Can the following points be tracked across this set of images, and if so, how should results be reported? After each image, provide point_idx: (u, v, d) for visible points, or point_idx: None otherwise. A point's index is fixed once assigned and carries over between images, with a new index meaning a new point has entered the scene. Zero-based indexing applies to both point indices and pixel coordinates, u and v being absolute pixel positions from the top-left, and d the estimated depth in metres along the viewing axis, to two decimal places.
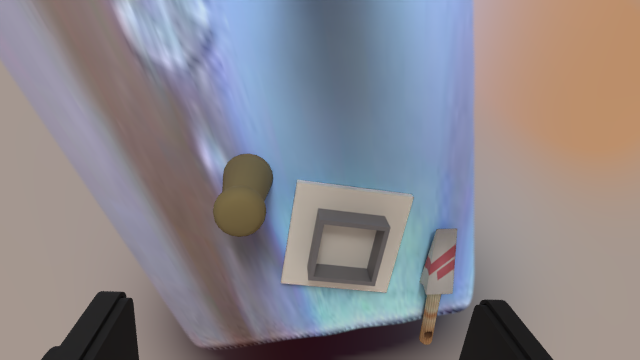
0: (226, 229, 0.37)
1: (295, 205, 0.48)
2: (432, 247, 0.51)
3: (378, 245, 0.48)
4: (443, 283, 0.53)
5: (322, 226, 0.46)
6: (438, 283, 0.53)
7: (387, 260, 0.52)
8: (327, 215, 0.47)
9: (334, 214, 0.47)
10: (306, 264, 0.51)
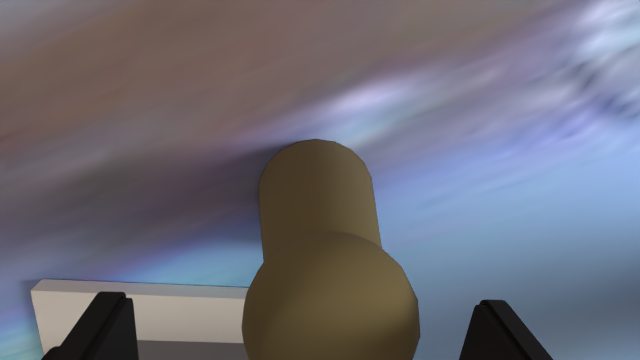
0: (283, 325, 0.09)
1: None
2: None
3: None
4: None
5: None
6: None
7: None
8: None
9: None
10: None
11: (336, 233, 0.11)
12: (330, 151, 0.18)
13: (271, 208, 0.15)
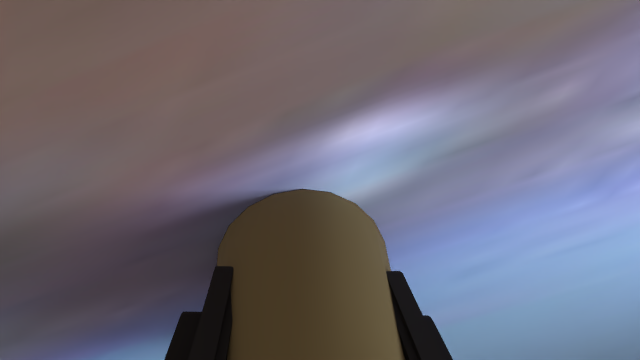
0: None
1: None
2: None
3: None
4: None
5: None
6: None
7: None
8: None
9: None
10: None
11: None
12: (324, 213, 0.11)
13: None
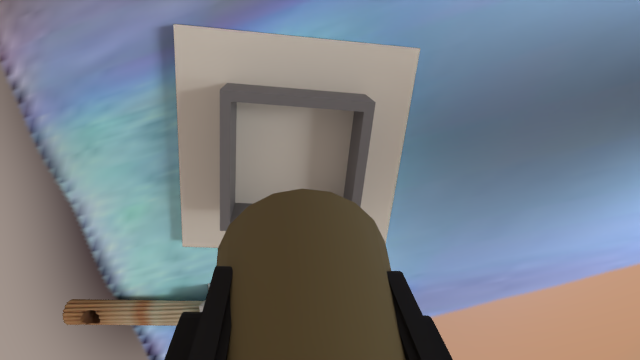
0: None
1: (372, 47, 0.24)
2: None
3: None
4: None
5: (359, 109, 0.22)
6: None
7: None
8: None
9: None
10: (232, 81, 0.24)
11: None
12: (324, 212, 0.11)
13: None
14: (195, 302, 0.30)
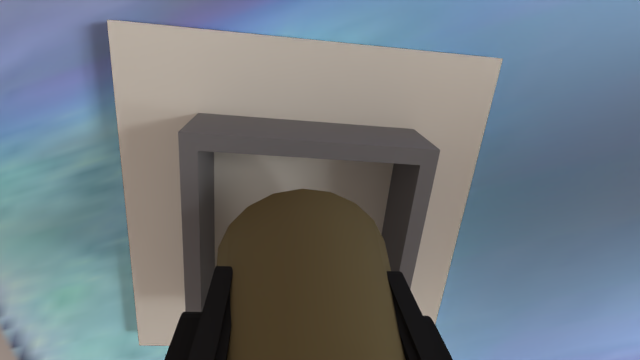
0: None
1: (428, 57, 0.15)
2: None
3: None
4: None
5: (412, 160, 0.13)
6: None
7: None
8: None
9: None
10: (206, 110, 0.15)
11: None
12: (324, 212, 0.11)
13: None
14: None
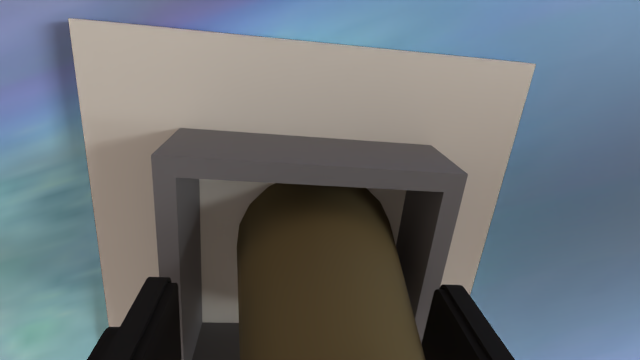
0: None
1: (449, 62, 0.13)
2: None
3: None
4: None
5: (434, 187, 0.11)
6: None
7: None
8: None
9: None
10: (189, 124, 0.13)
11: None
12: (337, 192, 0.13)
13: (253, 288, 0.10)
14: None
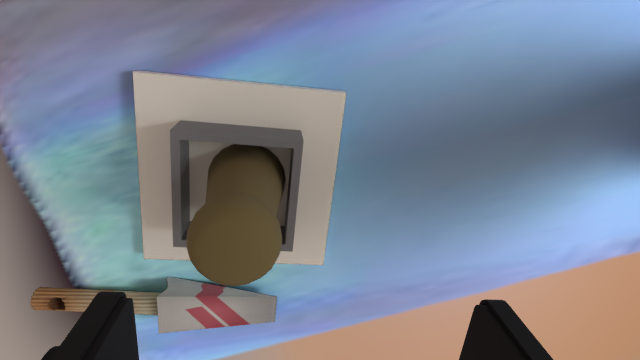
0: (204, 235, 0.19)
1: (305, 91, 0.28)
2: (244, 293, 0.33)
3: None
4: (179, 318, 0.32)
5: (289, 146, 0.26)
6: (178, 312, 0.32)
7: None
8: None
9: None
10: (184, 118, 0.28)
11: (238, 193, 0.21)
12: (253, 150, 0.28)
13: (210, 184, 0.25)
14: (154, 293, 0.33)
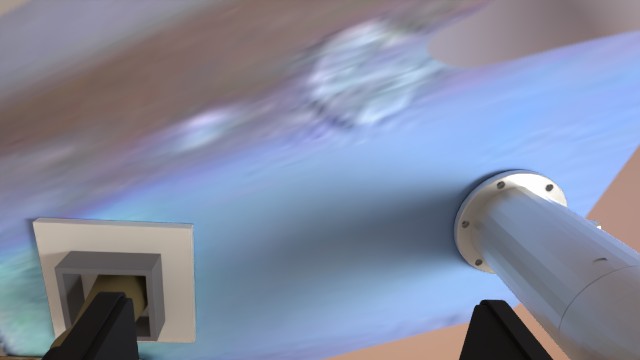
0: None
1: (159, 229, 0.39)
2: None
3: None
4: None
5: (142, 274, 0.37)
6: None
7: None
8: (156, 271, 0.38)
9: (158, 276, 0.39)
10: (73, 249, 0.39)
11: None
12: None
13: (83, 305, 0.36)
14: None
